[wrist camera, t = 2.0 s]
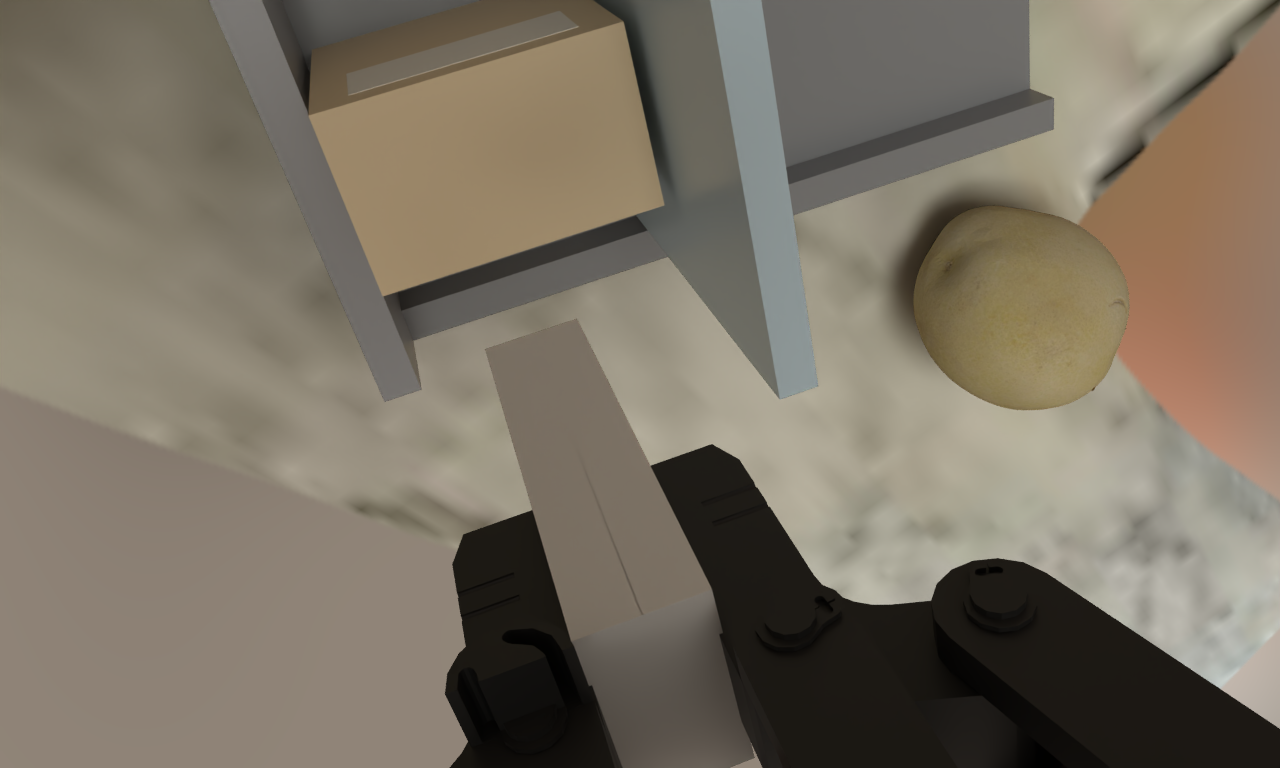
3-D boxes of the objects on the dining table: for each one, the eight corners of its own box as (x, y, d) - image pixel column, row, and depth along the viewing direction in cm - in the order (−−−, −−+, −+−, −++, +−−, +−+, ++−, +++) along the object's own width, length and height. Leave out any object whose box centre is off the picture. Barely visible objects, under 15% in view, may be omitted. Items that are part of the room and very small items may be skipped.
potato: (961, 375, 45) (1072, 473, 39) (845, 297, 41) (945, 390, 35) (1076, 240, 43) (1214, 318, 37) (965, 144, 39) (1096, 211, 33)
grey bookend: (547, -130, 30) (693, -94, 18) (673, -165, 30) (896, -152, 18) (629, 207, 36) (779, 399, 24) (733, 173, 36) (931, 346, 24)
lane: (197, -106, 29) (170, -89, 24) (1008, -325, 32) (1137, -351, 27) (376, 320, 36) (384, 401, 31) (1014, 112, 39) (1116, 155, 34)
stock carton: (311, 49, 30) (307, 114, 24) (559, -23, 31) (623, 20, 25) (371, 199, 33) (383, 297, 26) (597, 129, 34) (664, 205, 27)
